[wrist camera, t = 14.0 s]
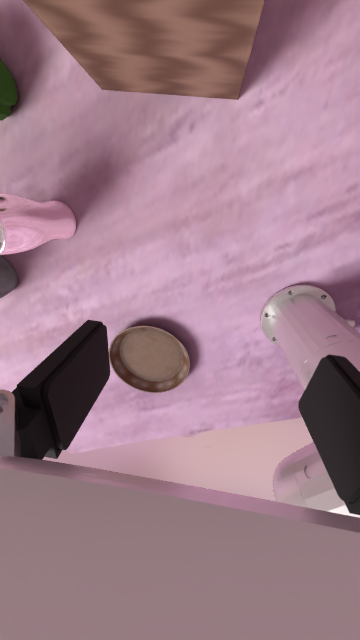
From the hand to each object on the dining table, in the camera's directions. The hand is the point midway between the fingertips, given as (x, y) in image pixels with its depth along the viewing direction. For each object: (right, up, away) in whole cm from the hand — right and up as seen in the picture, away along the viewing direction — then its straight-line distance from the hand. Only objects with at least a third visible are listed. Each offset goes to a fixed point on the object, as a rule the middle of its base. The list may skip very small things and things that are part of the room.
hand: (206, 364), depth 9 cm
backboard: (-2, +35, +17) cm, 39 cm away
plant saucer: (-7, -6, +39) cm, 40 cm away
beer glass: (-22, +19, +28) cm, 40 cm away
